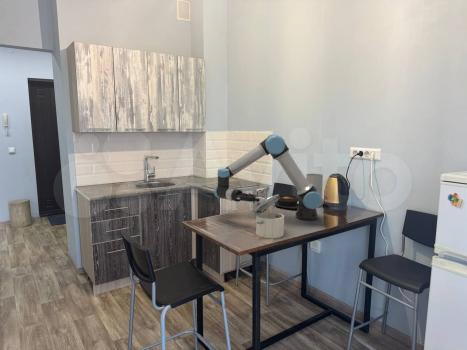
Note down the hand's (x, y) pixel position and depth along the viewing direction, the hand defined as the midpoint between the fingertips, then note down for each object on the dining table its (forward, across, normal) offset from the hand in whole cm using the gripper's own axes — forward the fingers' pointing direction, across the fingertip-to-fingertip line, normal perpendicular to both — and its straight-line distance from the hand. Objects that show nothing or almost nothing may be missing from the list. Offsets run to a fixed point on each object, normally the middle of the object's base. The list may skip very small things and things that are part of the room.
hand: (264, 200), depth 198 cm
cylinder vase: (-10, -80, -19) cm, 83 cm away
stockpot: (+4, 0, -19) cm, 20 cm away
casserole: (-23, -63, -19) cm, 70 cm away
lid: (+2, 0, -2) cm, 3 cm away
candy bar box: (-32, -39, -19) cm, 54 cm away
